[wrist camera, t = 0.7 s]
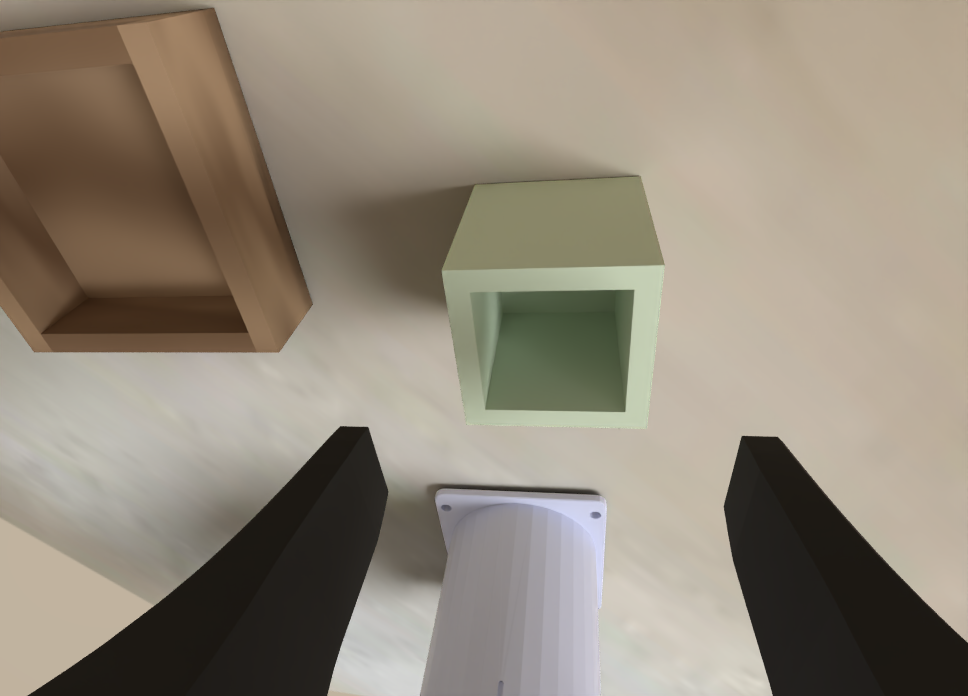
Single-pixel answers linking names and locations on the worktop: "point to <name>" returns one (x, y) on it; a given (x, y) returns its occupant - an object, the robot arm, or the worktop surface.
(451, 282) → the small crate
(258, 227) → the big crate
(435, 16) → the worktop surface
